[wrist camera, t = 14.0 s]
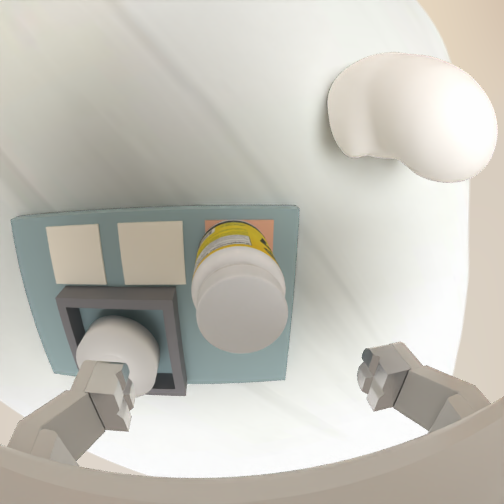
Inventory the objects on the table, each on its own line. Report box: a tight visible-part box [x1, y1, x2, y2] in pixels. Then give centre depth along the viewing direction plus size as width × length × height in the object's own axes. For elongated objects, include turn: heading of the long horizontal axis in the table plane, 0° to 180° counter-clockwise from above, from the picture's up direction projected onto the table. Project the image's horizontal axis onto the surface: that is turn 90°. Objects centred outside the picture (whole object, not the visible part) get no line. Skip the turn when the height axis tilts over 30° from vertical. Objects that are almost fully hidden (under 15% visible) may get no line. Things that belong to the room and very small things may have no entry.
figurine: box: [327, 52, 498, 183], centre depth 14 cm, size 7×8×12 cm
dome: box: [76, 315, 160, 397], centre depth 20 cm, size 6×6×4 cm
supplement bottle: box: [191, 220, 288, 354], centre depth 17 cm, size 5×5×8 cm
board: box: [11, 205, 299, 396], centre depth 21 cm, size 22×15×3 cm
